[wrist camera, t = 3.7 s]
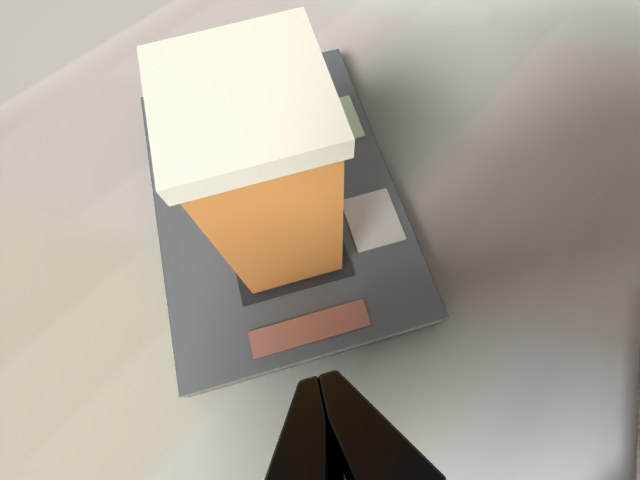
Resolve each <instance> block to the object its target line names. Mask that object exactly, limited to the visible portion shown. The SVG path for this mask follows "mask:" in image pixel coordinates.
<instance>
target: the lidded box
mask: <svg viewBox="0 0 640 480" xmlns="http://www.w3.org/2000/svg"><path fill="white" fill-rule="evenodd" d="M137 52H138V60H139V68H140V75H141V83H142V90H143V98H144V105H145V113H146V121H147V128H148V136H149V143H150V151H151V158H152V166H153V174H154V181H155V189H156V192H157V193H158V195H159V196H160V197H161V198H162V199H163V200H164V201H165V203H166V204H167V205H168V206H169V207H170V206H174V205H177V204H181V205H182V207H183V208H184V209H185V210H186V212H187V213H188V214H189V215H190V217H191V218H192V219H193V220H194V222H195V223H196V224H197V225H198V226H199V228H200V229H201V230H202V231H203V233H204V234H205V235H206V236H207V238H208V239H209V240H210V241H211V243H212V244H213V245H214V246H215V248H216V249H217V250H218V251H219V252H220V254H221V255H222V256H223V257H224V259H225V260H226V261H227V262H228V264H229V265H230V266H231V267H232V269H233V270H234V271H235V272H236V273H237V275H238V276H239V277H240V278H241V280H242V281H243V282H244V283H245V285H246V286H247V287H248V288H249V290H250V291H251V292H252V293H253V294H254V293H258V292H261V291H265V290H268V289H272V288H275V287H279V286H282V285H286V284H289V283H293V282H296V281H300V280H303V279H307V278H311V277H314V276H318V275H321V274H325V273H328V272H332V271H335V270H339V269H342V251H343V204H344V160H347V159H351V158H354V147H355V138H354V136H353V133H352V131H351V128H350V125H349V123H348V120H347V118H346V115H345V112H344V110H343V107H342V105H341V102H340V99H339V97H338V94H337V92H336V89H335V86H334V84H333V81H332V79H331V76H330V73H329V71H328V68H327V66H326V63H325V60H324V58H323V55H322V53H321V50H320V47H319V45H318V42H317V40H316V37H315V35H314V32H313V29H312V27H311V24H310V22H309V19H308V16H307V14H306V11H305V9H304V7H300V8H296V9H291V10H287V11H283V12H279V13H275V14H270V15H266V16H262V17H258V18H254V19H249V20H245V21H241V22H237V23H233V24H228V25H224V26H220V27H216V28H212V29H207V30H203V31H199V32H195V33H191V34H186V35H182V36H178V37H174V38H170V39H165V40H161V41H157V42H153V43H149V44H144V45H140V46H137Z"/></svg>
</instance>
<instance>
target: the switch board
mask: <svg viewBox="0 0 640 480" xmlns="http://www.w3.org/2000/svg"><path fill="white" fill-rule="evenodd" d="M322 55H323V58H324V60H325V63H326V66H327V68H328V71H329V73H330V76H331V79H332V81H333V84H334V86H335V89H336V92H337V94H338V97H339V99H340V102H341V105H342V107H343V110H344V112H345V115H346V118H347V120H348V123H349V125H350V128H351V131H352V133H353V136H354V138H355V147H354V158H351V159H347V160H344V204H343V251H342V269H339V270H335V271H332V272H328V273H325V274H321V275H318V276H314V277H311V278H307V279H303V280H300V281H296V282H293V283H289V284H286V285H282V286H279V287H275V288H272V289H268V290H265V291H261V292H258V293H254V294H253V293H252V292H251V291H250V290H249V288H248V287H247V286H246V285H245V283H244V282H243V281H242V280H241V278H240V277H239V276H238V275H237V273H236V272H235V271H234V270H233V269H232V267H231V266H230V265H229V264H228V262H227V261H226V260H225V259H224V257H223V256H222V255H221V254H220V252H219V251H218V250H217V249H216V248H215V246H214V245H213V244H212V243H211V241H210V240H209V239H208V238H207V236H206V235H205V234H204V233H203V231H202V230H201V229H200V228H199V226H198V225H197V224H196V223H195V222H194V220H193V219H192V218H191V217H190V215H189V214H188V213H187V212H186V210H185V209H184V208H183V207H182V205H181V204H177V205H174V206H170V207H169V206H168V205H167V204H166V203H165V201H164V200H163V199H162V198H161V197H160V196H159V195H158V193H157V192H156V189H155V181H154V174H153V166H152V158H151V151H150V143H149V136H148V128H147V121H146V113H145V105H144V98H143V97H141V103H142V111H143V119H144V126H145V134H146V142H147V150H148V157H149V165H150V173H151V181H152V188H153V196H154V204H155V212H156V220H157V227H158V235H159V243H160V251H161V258H162V266H163V274H164V282H165V290H166V297H167V305H168V313H169V321H170V328H171V336H172V344H173V352H174V359H175V367H176V375H177V383H178V391H179V397H191V396H195V395H198V394H202V393H205V392H208V391H212V390H215V389H218V388H222V387H225V386H229V385H232V384H235V383H239V382H242V381H245V380H249V379H252V378H256V377H259V376H262V375H266V374H269V373H272V372H276V371H279V370H282V369H286V368H289V367H293V366H296V365H299V364H303V363H306V362H309V361H313V360H316V359H320V358H323V357H326V356H330V355H333V354H336V353H340V352H343V351H346V350H350V349H353V348H357V347H360V346H363V345H367V344H370V343H373V342H377V341H380V340H384V339H387V338H390V337H394V336H397V335H400V334H404V333H407V332H411V331H414V330H417V329H421V328H424V327H427V326H431V325H434V324H437V323H441V322H443V321H444V320H445V319H447V318H448V314H447V312H446V310H445V307H444V305H443V302H442V300H441V297H440V295H439V293H438V290H437V288H436V285H435V283H434V280H433V278H432V276H431V273H430V271H429V268H428V266H427V263H426V261H425V258H424V256H423V254H422V251H421V249H420V246H419V244H418V241H417V239H416V237H415V234H414V232H413V229H412V227H411V224H410V222H409V220H408V217H407V215H406V212H405V210H404V207H403V205H402V202H401V200H400V198H399V195H398V193H397V190H396V188H395V185H394V183H393V181H392V178H391V176H390V173H389V171H388V168H387V166H386V164H385V161H384V159H383V156H382V154H381V151H380V149H379V147H378V144H377V142H376V139H375V137H374V134H373V132H372V129H371V127H370V125H369V122H368V120H367V117H366V115H365V112H364V110H363V108H362V105H361V103H360V100H359V98H358V95H357V93H356V91H355V88H354V86H353V83H352V81H351V78H350V76H349V73H348V71H347V69H346V66H345V64H344V61H343V59H342V56H341V54H340V52H339V49H336V50H332V51H328V52H324V53H322Z"/></svg>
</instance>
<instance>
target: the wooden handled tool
mask: <svg viewBox="0 0 640 480" xmlns="http://www.w3.org/2000/svg"><path fill="white" fill-rule="evenodd" d="M636 480H640V362H639V396H638V431H637V465H636Z"/></svg>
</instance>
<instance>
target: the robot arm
mask: <svg viewBox="0 0 640 480" xmlns="http://www.w3.org/2000/svg"><path fill="white" fill-rule="evenodd" d="M344 476H345V477H344ZM345 479H346V480H446V477H445V476H444V475H443V474H442V473H441V472H440V471H439V470H438V469H437V468H436V467H435V466H434V465H433V464H432V463H431V462H430V461H429V460H428V459H427V458H426V457H425V456H424V455H423V454H422V453H421V452H420V451H419V450H418V449H417V448H416V447H415V446H414V445H413V444H412V443H411V442H410V441H409V440H408V439H406V438H405V437H404V436H403V435H402V434H401V433H400V432H399V431H398V430H397V429H396V428H395V427H394V426H393V425H392V424H391V423H390V422H389V421H388V420H387V419H386V418H385V417H384V416H383V415H382V414H381V413H380V412H379V411H378V410H377V409H376V408H375V407H374V406H373V405H372V404H371V403H370V402H369V401H368V400H367V399H366V398H365V397H364V396H363V395H362V394H361V393H360V392H359V391H358V390H357V389H356V388H355V387H354V386H353V385H352V384H351V383H350V382H349V381H348V380H347V379H346V378H345V377H344V376H342V375H341V374H340V373H339V372H338V371H336V370H334V371H331V372H327V373H324V374H321V375H320V376H319V379H318V377H316V376H314V377H311V378H307V379H304V380H301V381H300V382H299V383H298V385H297V388H296V391H295V394H294V397H293V399H292V402H291V405H290V408H289V411H288V414H287V417H286V419H285V422H284V425H283V428H282V431H281V434H280V437H279V439H278V442H277V445H276V448H275V451H274V454H273V457H272V459H271V462H270V465H269V468H268V471H267V474H266V477H265V479H264V480H345Z"/></svg>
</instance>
